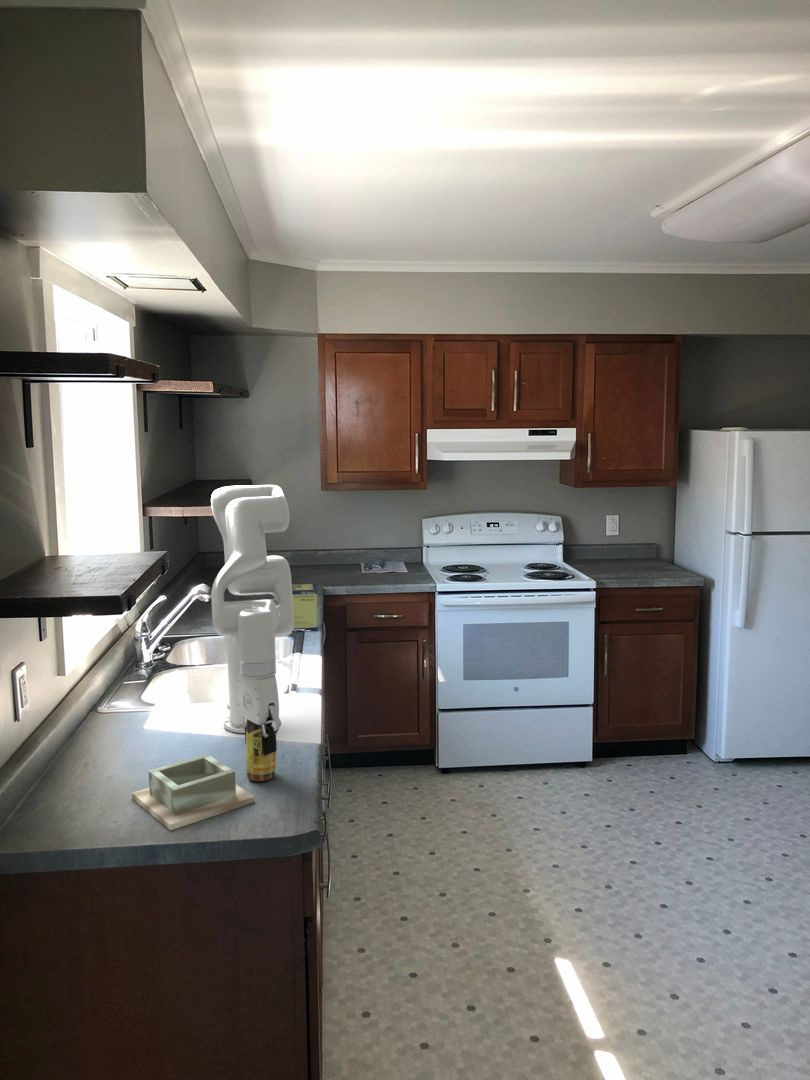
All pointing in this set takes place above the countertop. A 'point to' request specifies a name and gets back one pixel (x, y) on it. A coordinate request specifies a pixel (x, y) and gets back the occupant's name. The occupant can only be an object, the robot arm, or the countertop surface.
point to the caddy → (191, 792)
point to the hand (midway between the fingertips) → (260, 747)
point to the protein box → (305, 606)
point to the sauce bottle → (258, 754)
